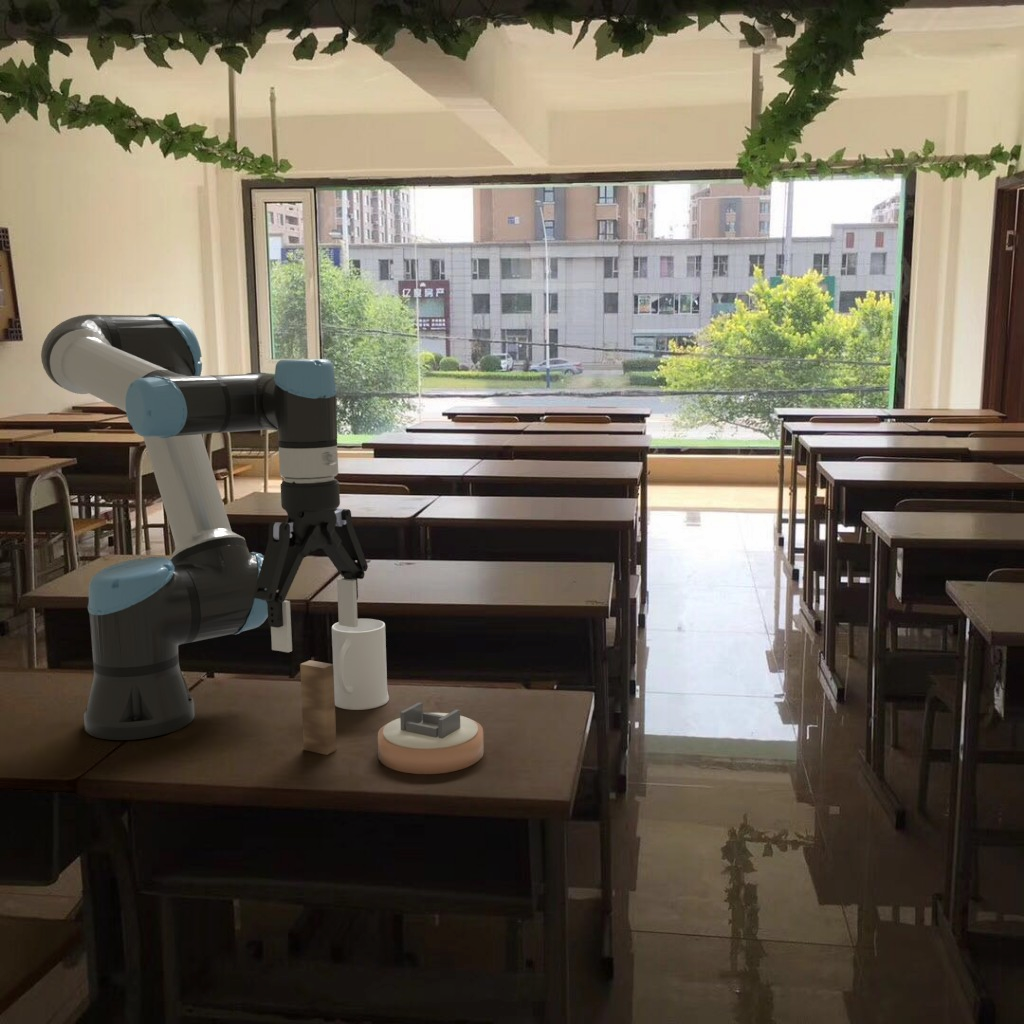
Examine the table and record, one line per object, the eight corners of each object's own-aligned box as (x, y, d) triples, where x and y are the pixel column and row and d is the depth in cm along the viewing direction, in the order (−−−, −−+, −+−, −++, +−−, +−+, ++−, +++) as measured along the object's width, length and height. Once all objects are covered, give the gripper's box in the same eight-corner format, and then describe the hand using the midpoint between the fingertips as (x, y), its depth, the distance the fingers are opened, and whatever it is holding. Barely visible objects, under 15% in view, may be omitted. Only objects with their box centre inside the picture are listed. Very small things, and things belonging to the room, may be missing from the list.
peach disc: (357, 761, 141) (355, 718, 140) (417, 727, 153) (416, 688, 152) (446, 782, 134) (446, 737, 133) (502, 745, 146) (502, 703, 145)
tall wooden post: (303, 749, 146) (300, 664, 144) (313, 744, 147) (309, 660, 145) (327, 754, 144) (323, 668, 142) (336, 749, 145) (333, 664, 143)
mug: (362, 720, 156) (360, 640, 155) (311, 714, 159) (308, 635, 157) (398, 695, 167) (396, 620, 166) (349, 689, 170) (347, 616, 168)
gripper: (265, 492, 127) (274, 666, 130) (389, 469, 148) (394, 619, 152) (218, 489, 131) (228, 658, 134) (346, 467, 152) (351, 613, 155)
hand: (316, 637), depth 143 cm, fingers open, 13 cm apart
